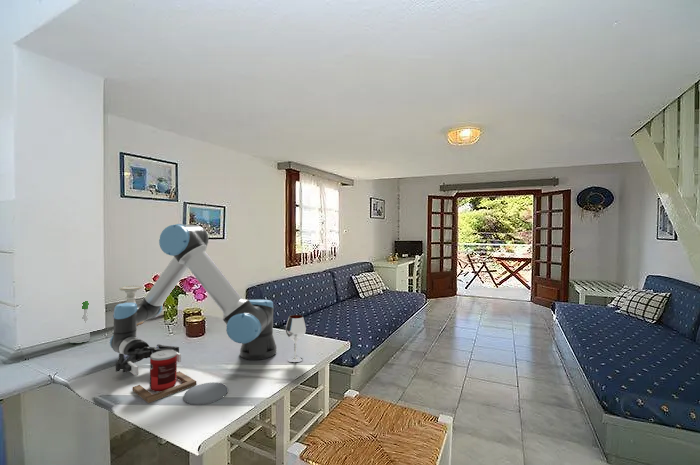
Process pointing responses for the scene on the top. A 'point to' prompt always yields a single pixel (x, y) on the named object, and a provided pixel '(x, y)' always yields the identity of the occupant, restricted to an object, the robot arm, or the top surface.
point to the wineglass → (295, 330)
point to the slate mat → (205, 393)
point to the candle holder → (131, 294)
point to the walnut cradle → (152, 397)
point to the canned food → (163, 370)
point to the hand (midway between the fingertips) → (159, 364)
